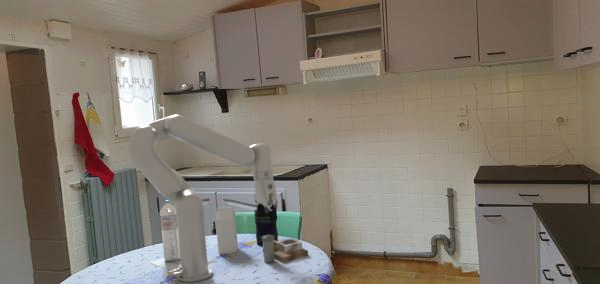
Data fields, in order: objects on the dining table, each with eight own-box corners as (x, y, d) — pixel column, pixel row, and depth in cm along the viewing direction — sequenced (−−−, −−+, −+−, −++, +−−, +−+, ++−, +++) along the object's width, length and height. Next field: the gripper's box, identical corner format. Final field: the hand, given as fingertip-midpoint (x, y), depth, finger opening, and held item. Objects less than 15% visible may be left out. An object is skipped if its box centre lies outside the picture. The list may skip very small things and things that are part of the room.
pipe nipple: (267, 264, 170) (265, 239, 169) (261, 261, 174) (259, 236, 173) (277, 261, 172) (275, 236, 172) (271, 258, 176) (269, 234, 175)
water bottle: (160, 261, 182) (155, 202, 180) (172, 255, 188) (167, 198, 186) (173, 263, 179) (167, 202, 177) (184, 257, 185) (179, 198, 183)
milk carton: (235, 253, 186) (231, 209, 184) (218, 254, 186) (214, 210, 185) (238, 247, 193) (234, 205, 192) (222, 248, 193) (218, 206, 192)
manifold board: (282, 262, 170) (281, 250, 170) (263, 252, 184) (262, 241, 184) (308, 255, 177) (307, 243, 176) (287, 246, 190) (286, 235, 190)
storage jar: (253, 242, 200) (250, 209, 199) (273, 238, 204) (271, 206, 203) (261, 247, 191) (258, 214, 190) (281, 243, 195) (279, 210, 194)
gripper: (282, 175, 165) (286, 220, 167) (261, 171, 180) (265, 212, 181) (265, 178, 161) (269, 224, 163) (244, 174, 176) (248, 216, 177)
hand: (267, 218), depth 172 cm, fingers open, 9 cm apart
